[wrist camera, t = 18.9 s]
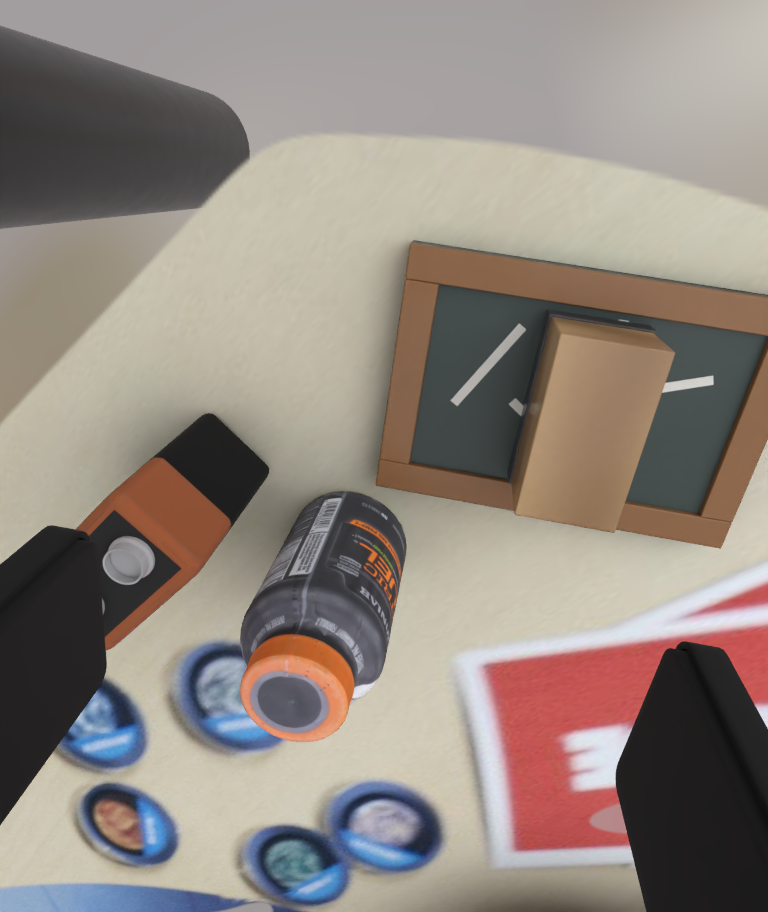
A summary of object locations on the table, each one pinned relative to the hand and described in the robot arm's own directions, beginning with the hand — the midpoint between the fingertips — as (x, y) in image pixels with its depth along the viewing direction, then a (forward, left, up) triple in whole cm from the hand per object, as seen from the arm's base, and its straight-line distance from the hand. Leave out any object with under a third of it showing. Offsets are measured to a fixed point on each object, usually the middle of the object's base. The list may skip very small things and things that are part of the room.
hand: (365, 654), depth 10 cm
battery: (+8, -11, -20) cm, 24 cm away
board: (+1, +6, -19) cm, 20 cm away
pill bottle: (+10, -3, -20) cm, 22 cm away
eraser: (+1, +6, -18) cm, 19 cm away
